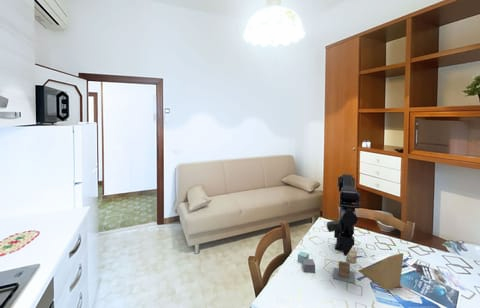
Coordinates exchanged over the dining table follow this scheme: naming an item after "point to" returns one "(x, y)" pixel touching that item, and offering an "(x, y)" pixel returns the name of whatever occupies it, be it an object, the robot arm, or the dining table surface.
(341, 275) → the walnut block
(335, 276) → the felt pad
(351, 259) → the beech cylinder
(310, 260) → the charcoal block
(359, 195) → the robot arm
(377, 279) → the sandwich container
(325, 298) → the dining table surface
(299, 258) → the teal block
